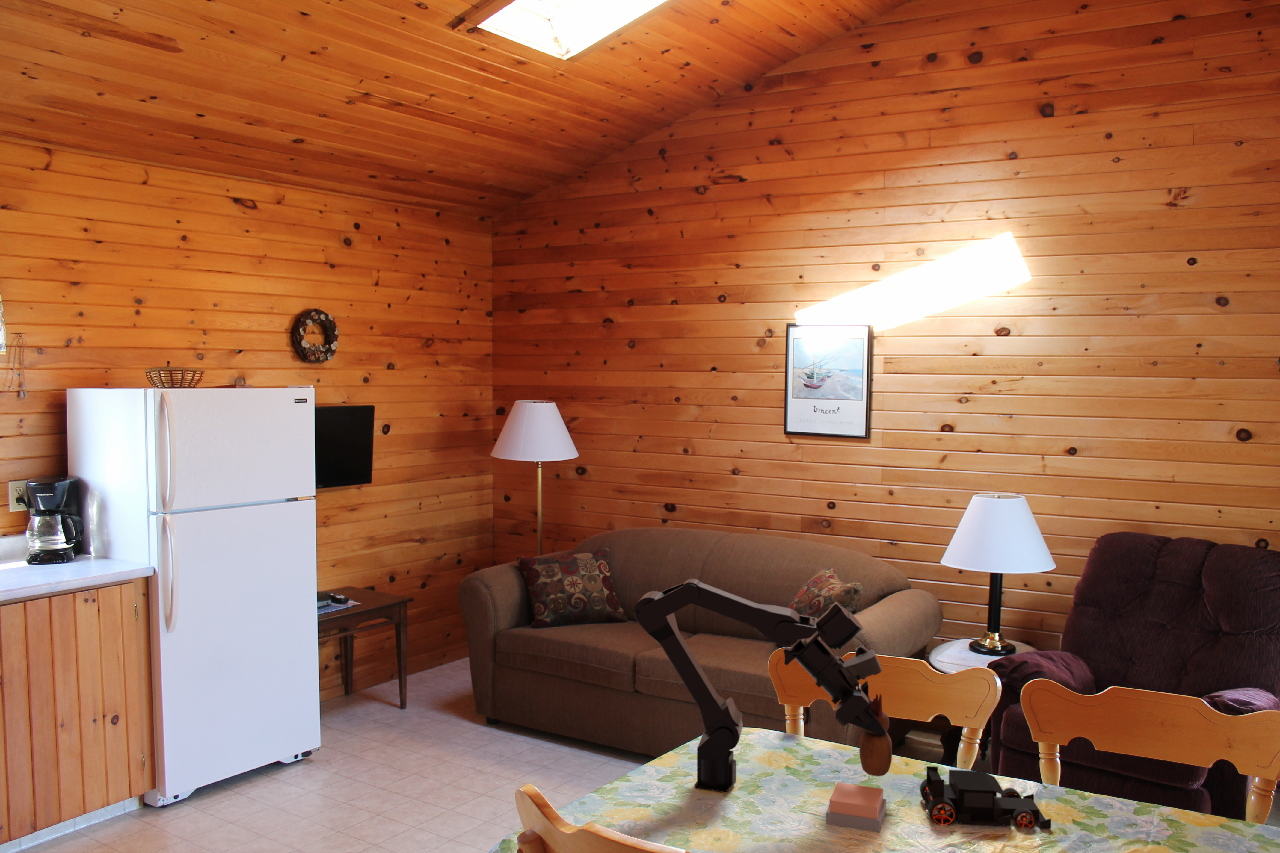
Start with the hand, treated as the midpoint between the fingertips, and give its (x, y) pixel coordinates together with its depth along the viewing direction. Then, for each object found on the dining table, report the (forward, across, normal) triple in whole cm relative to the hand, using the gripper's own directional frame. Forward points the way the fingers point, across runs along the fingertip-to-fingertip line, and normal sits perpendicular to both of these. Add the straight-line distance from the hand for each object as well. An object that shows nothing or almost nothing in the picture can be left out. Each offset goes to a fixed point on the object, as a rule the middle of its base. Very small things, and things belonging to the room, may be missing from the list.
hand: (883, 729), depth 175 cm
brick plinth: (+6, -9, +12) cm, 16 cm away
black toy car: (+21, -3, -3) cm, 22 cm away
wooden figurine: (+5, 0, +7) cm, 8 cm away
